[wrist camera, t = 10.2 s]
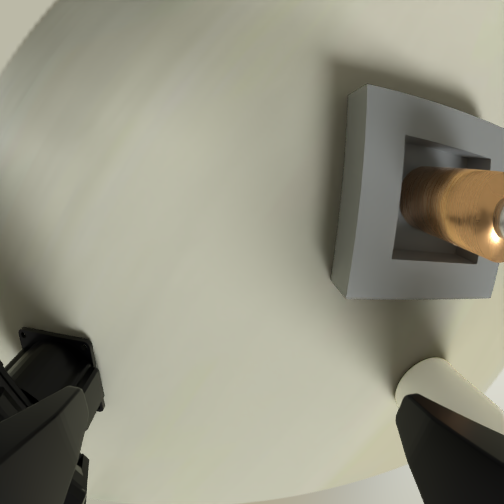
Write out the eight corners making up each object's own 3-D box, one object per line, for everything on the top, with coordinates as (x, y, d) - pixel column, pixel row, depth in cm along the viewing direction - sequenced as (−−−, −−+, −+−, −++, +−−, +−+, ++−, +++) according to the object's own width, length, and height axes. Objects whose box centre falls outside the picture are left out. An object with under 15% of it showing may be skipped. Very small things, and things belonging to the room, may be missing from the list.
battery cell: (394, 227, 18) (479, 266, 10) (402, 161, 17) (493, 164, 9) (445, 233, 18) (531, 269, 10) (452, 172, 17) (544, 183, 9)
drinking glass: (396, 350, 21) (511, 507, 6) (464, 342, 21) (579, 455, 7) (375, 418, 22) (444, 565, 8) (439, 406, 23) (520, 522, 8)
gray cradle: (330, 279, 19) (345, 298, 16) (348, 95, 16) (367, 83, 13) (466, 283, 20) (490, 298, 17) (485, 133, 17) (513, 132, 14)
